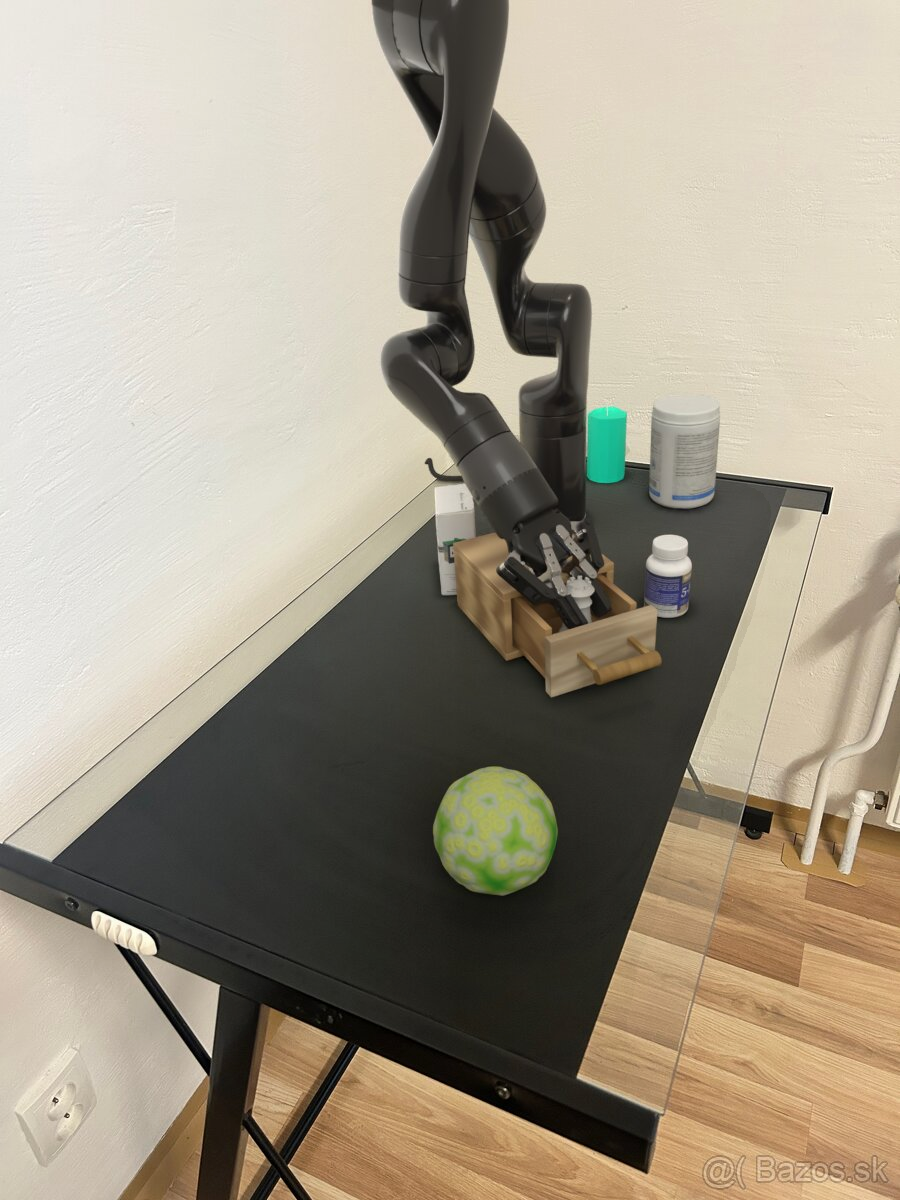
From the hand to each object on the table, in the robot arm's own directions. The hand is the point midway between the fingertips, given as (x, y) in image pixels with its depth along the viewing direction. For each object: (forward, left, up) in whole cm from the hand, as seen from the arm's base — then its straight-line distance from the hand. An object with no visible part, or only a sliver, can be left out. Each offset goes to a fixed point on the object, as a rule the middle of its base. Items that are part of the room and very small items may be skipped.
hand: (593, 620), depth 93 cm
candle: (-45, +29, -7) cm, 54 cm away
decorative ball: (+21, -22, -7) cm, 31 cm away
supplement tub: (-32, +34, -7) cm, 47 cm away
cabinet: (-13, -1, -6) cm, 15 cm away
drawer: (-1, -1, -6) cm, 6 cm away
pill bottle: (-7, +14, -7) cm, 17 cm away
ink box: (-26, -5, -7) cm, 27 cm away
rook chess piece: (-2, -1, -4) cm, 5 cm away
